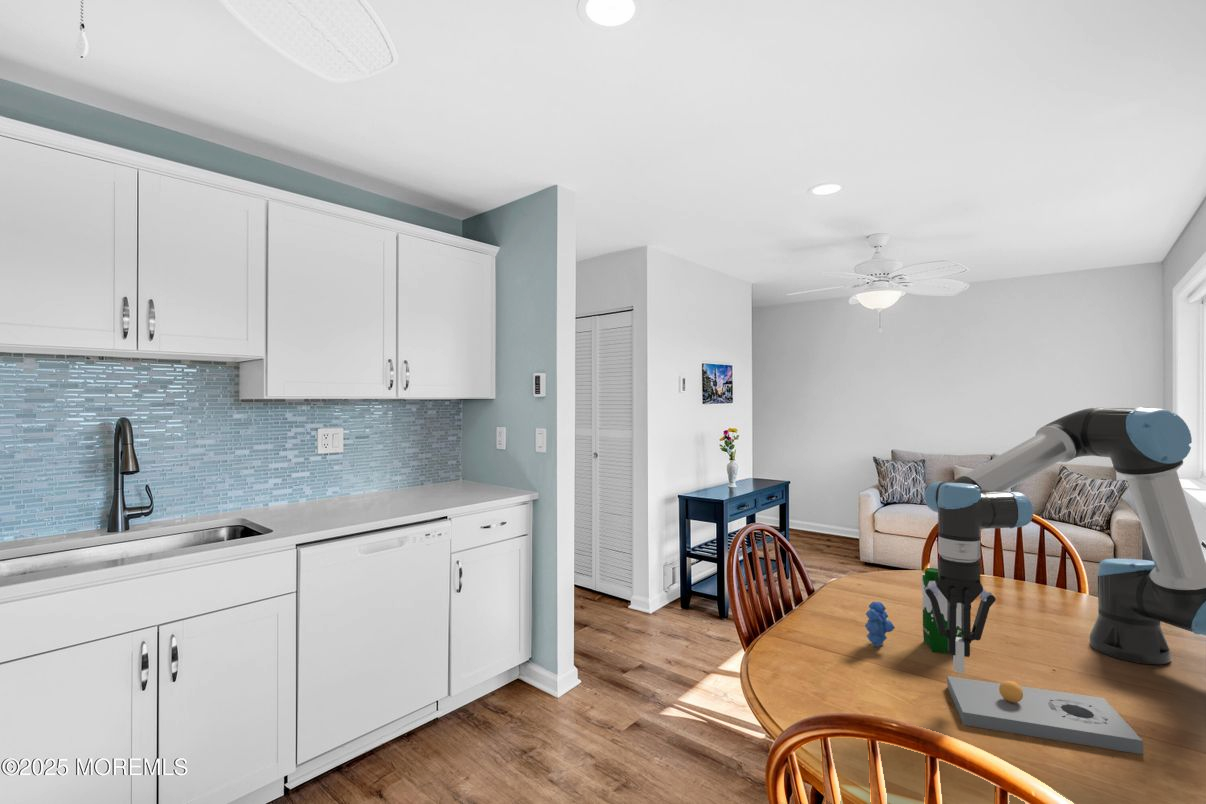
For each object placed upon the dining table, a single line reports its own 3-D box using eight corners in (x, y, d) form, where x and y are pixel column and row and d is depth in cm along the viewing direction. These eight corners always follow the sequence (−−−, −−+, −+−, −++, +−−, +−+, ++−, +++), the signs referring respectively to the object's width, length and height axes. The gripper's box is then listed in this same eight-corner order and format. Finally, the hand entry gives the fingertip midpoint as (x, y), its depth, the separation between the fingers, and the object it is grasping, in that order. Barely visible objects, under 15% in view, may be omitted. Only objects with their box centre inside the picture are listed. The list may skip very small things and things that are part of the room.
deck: (1103, 710, 119) (1103, 697, 119) (1143, 754, 105) (1142, 740, 105) (947, 687, 130) (947, 676, 130) (963, 724, 115) (963, 712, 115)
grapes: (888, 658, 144) (887, 610, 144) (860, 651, 149) (859, 604, 148) (901, 643, 153) (900, 598, 153) (874, 637, 157) (873, 592, 157)
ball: (1019, 698, 120) (1019, 678, 120) (1026, 708, 116) (1025, 687, 116) (996, 695, 121) (996, 675, 121) (1002, 704, 117) (1002, 684, 117)
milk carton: (918, 639, 155) (918, 564, 155) (956, 642, 153) (955, 566, 153) (930, 653, 147) (929, 574, 146) (970, 656, 145) (969, 576, 145)
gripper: (926, 559, 120) (926, 673, 120) (1000, 565, 116) (1000, 684, 116) (921, 550, 128) (920, 658, 127) (990, 556, 123) (990, 668, 123)
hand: (958, 670), depth 122 cm, fingers closed
